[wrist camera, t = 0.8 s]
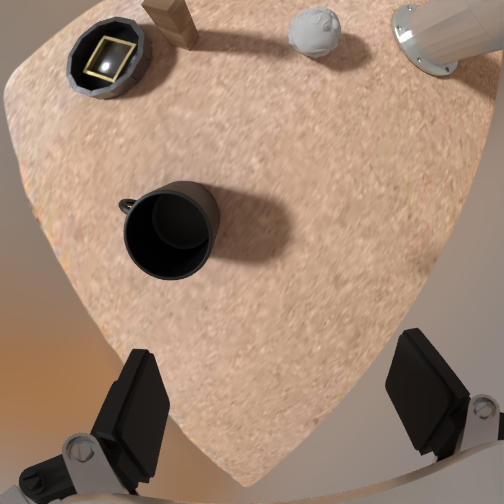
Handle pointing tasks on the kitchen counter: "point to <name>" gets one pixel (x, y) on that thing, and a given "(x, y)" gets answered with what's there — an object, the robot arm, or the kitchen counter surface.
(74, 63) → the dark grey round tray
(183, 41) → the brown rectangular bar
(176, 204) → the mug
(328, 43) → the frog figurine
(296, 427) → the kitchen counter surface
